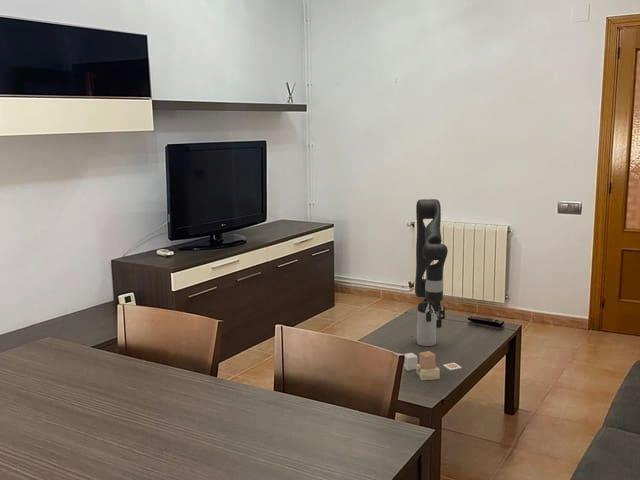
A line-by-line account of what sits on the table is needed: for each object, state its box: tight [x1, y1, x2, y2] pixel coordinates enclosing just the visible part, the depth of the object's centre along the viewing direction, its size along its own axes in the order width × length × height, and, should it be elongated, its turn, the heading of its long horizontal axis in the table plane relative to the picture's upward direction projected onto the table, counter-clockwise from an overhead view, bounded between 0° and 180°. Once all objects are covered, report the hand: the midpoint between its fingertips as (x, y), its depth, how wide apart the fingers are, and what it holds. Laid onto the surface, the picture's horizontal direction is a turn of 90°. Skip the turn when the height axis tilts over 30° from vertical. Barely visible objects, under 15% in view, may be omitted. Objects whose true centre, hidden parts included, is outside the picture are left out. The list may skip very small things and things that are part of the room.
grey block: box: [403, 352, 419, 372], centre depth 281 cm, size 5×5×6 cm
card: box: [442, 362, 462, 371], centre depth 282 cm, size 6×6×1 cm
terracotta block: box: [418, 350, 437, 370], centre depth 272 cm, size 5×5×6 cm
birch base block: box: [415, 363, 441, 381], centre depth 272 cm, size 8×8×4 cm
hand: (433, 324), depth 271 cm, fingers open, 8 cm apart
